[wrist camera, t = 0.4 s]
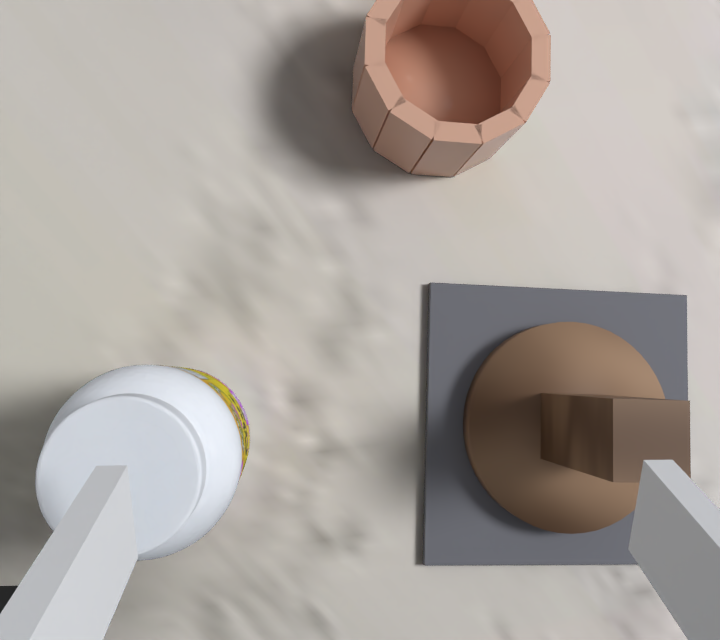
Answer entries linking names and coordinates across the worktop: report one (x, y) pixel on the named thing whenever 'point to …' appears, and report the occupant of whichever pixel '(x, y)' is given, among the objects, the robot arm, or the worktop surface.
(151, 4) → the worktop surface
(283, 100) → the worktop surface
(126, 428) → the supplement bottle
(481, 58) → the bowl
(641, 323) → the mat
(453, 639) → the worktop surface
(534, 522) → the lid
